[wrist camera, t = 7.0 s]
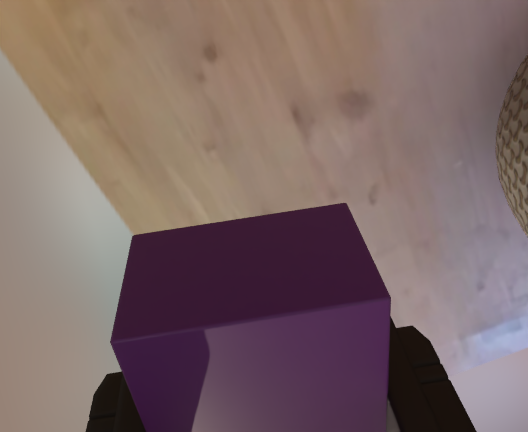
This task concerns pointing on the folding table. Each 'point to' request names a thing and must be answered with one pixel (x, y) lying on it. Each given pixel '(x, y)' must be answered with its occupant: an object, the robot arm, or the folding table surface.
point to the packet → (256, 326)
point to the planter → (515, 146)
